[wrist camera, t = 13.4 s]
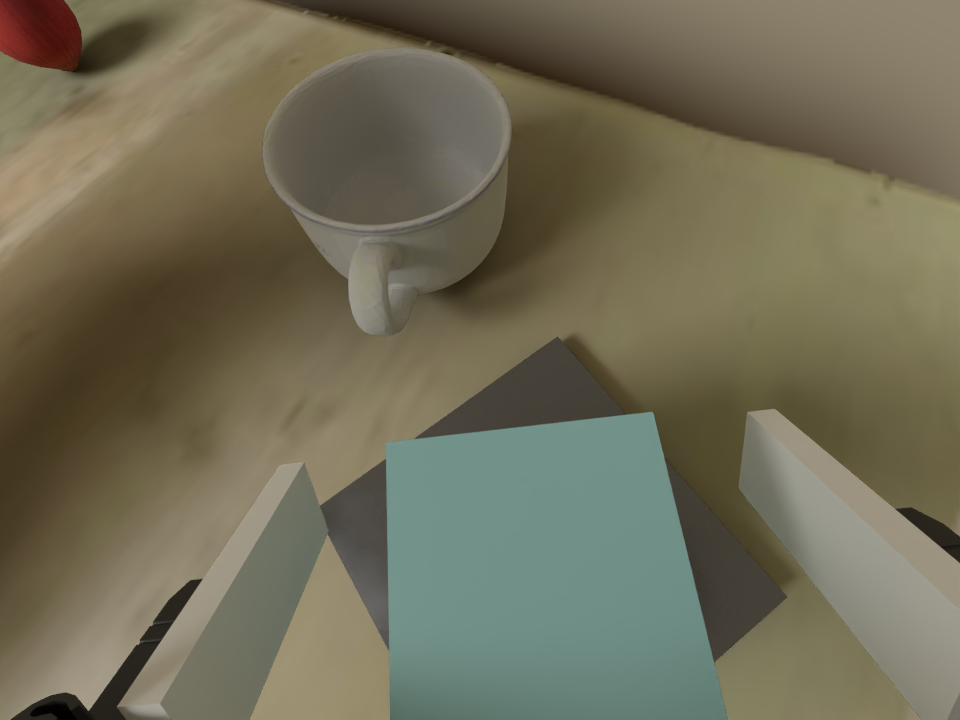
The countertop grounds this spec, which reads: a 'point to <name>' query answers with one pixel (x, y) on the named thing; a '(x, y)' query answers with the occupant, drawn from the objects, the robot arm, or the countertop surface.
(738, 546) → the gray square peg stand
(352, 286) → the teacup
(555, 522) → the teal upright box
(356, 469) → the countertop surface
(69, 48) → the onion
